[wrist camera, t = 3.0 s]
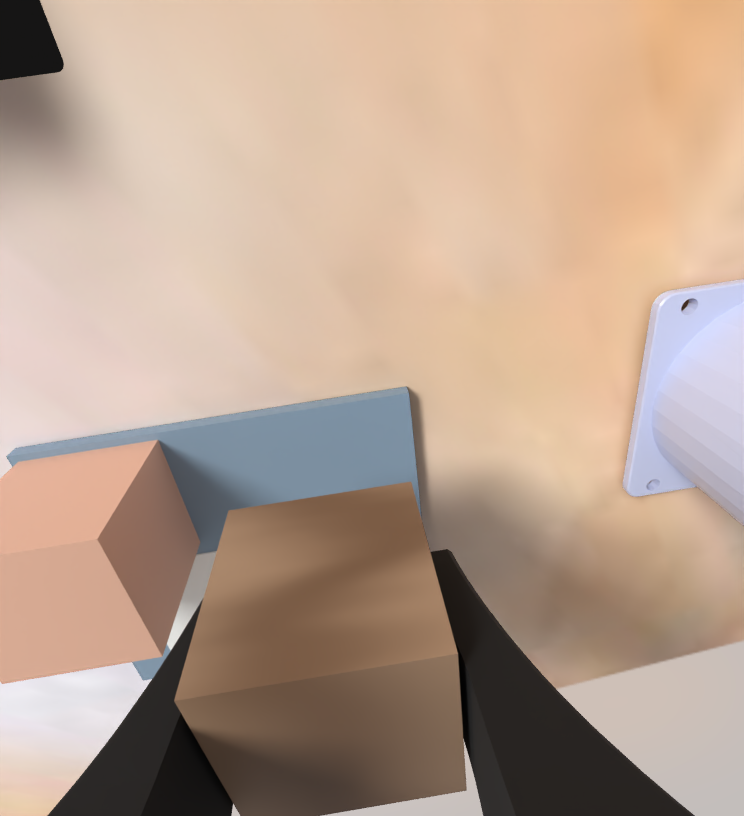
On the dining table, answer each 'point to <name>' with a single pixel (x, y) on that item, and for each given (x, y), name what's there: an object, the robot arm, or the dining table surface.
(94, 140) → the dining table surface
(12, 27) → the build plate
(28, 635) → the terracotta block
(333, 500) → the walnut block
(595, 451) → the dining table surface
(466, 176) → the dining table surface
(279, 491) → the plate
